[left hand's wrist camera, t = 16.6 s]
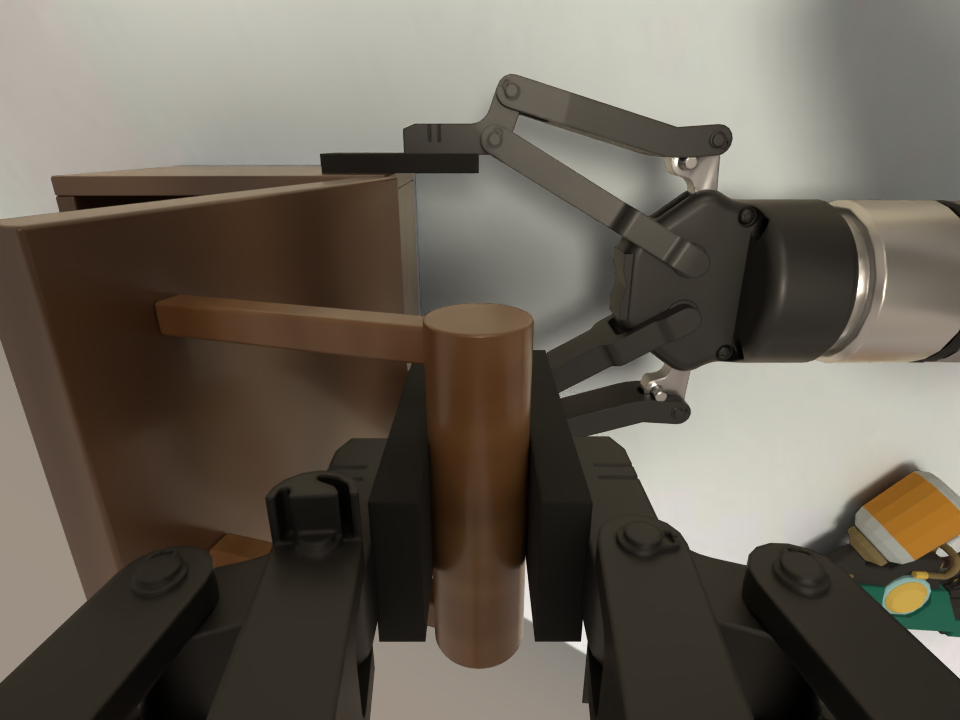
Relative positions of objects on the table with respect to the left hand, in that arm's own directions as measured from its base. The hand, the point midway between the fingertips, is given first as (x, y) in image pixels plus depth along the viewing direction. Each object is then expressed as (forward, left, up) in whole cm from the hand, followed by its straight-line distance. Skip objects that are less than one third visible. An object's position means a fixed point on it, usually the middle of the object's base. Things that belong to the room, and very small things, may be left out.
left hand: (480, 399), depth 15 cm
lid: (-5, -3, -2) cm, 6 cm away
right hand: (-5, -4, -12) cm, 14 cm away
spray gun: (+38, +1, -19) cm, 42 cm away
